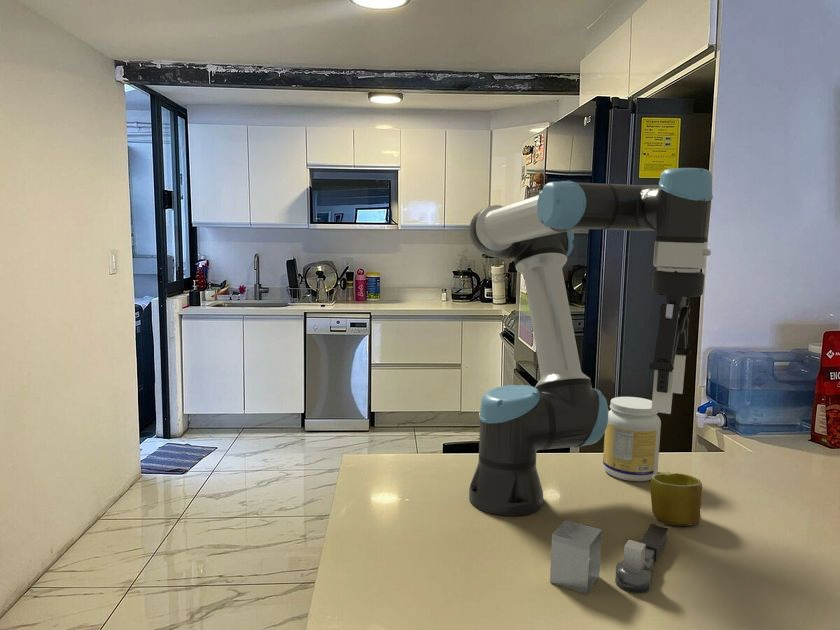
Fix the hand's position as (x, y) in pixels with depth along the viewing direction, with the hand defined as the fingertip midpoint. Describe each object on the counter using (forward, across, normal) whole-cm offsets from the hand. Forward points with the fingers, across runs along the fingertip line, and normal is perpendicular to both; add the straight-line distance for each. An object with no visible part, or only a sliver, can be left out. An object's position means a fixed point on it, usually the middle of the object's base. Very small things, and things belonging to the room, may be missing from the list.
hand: (667, 401), depth 101 cm
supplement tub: (+29, +41, +12) cm, 51 cm away
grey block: (+28, -12, +10) cm, 32 cm away
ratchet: (+28, 0, +2) cm, 28 cm away
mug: (+29, +22, 0) cm, 36 cm away
